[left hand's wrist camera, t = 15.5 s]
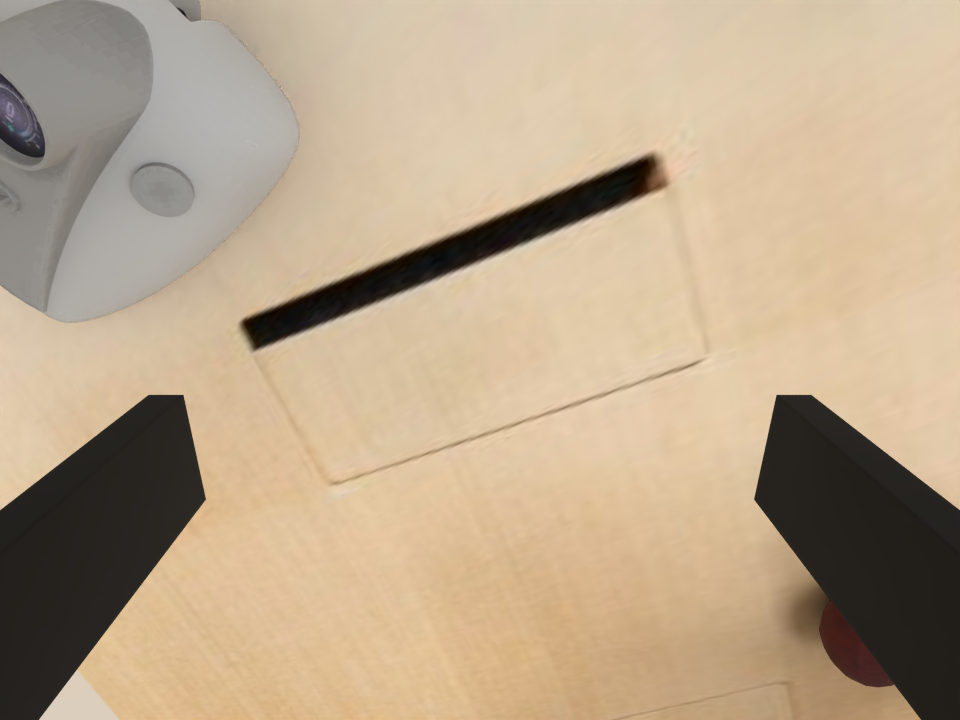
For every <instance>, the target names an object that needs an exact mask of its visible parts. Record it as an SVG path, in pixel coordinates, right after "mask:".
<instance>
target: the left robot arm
mask: <svg viewBox="0 0 960 720" xmlns="http://www.w3.org/2000/svg"><path fill="white" fill-rule="evenodd" d="M205 500H206V498H205V493H204V489H203V484H202V479H201V475H200V470H199V465H198V461H197V456H196V452H195V447H194V442H193V438H192V433H191V428H190V424H189V419H188V414H187V410H186V405H185V400H184V396H183V395H148V396H147V397H146V398H144V399H143V400H142V401H140V402H139V403H138V404H137V405H135V406H134V407H133V408H131V409H130V410H129V411H127V412H126V413H125V414H124V415H122V416H121V417H120V418H118V419H117V420H116V421H115V422H113V423H112V424H111V425H109V426H108V427H107V428H106V429H104V430H103V431H102V432H100V433H99V434H98V435H97V436H95V437H94V438H93V439H91V440H90V441H89V442H88V443H86V444H85V445H84V446H82V447H81V448H80V449H79V450H77V451H76V452H75V453H73V454H72V455H71V456H70V457H68V458H67V459H66V460H64V461H63V462H62V463H61V464H59V465H58V466H57V467H55V468H54V469H53V470H52V471H50V472H49V473H48V474H46V475H45V476H44V477H42V478H41V479H40V480H39V481H37V482H36V483H35V484H33V485H32V486H31V487H30V488H28V489H27V490H26V491H24V492H23V493H22V494H21V495H19V496H18V497H17V498H15V499H14V500H13V501H12V502H10V503H9V504H8V505H6V506H5V507H4V508H3V509H1V510H0V720H39V719H40V717H41V716H42V715H43V713H44V712H45V711H46V710H47V708H48V707H49V706H50V704H51V703H52V702H53V700H54V699H55V698H56V696H57V695H58V694H59V692H60V691H61V690H62V688H63V687H64V686H65V685H66V683H67V682H68V681H69V679H70V678H71V677H72V675H73V674H74V673H75V671H76V670H77V669H78V667H79V666H80V665H81V663H82V662H83V661H84V659H85V658H86V657H87V656H88V654H89V653H90V652H91V650H92V649H93V648H94V646H95V645H96V644H97V642H98V641H99V640H100V638H101V637H102V636H103V634H104V633H105V632H106V630H107V629H108V628H109V626H110V625H111V624H112V623H113V621H114V620H115V619H116V617H117V616H118V615H119V613H120V612H121V611H122V609H123V608H124V607H125V605H126V604H127V603H128V601H129V600H130V599H131V597H132V596H133V595H134V594H135V592H136V591H137V590H138V588H139V587H140V586H141V584H142V583H143V582H144V580H145V579H146V578H147V576H148V575H149V574H150V572H151V571H152V570H153V568H154V567H155V566H156V564H157V563H158V562H159V561H160V559H161V558H162V557H163V555H164V554H165V553H166V551H167V550H168V549H169V547H170V546H171V545H172V543H173V542H174V541H175V539H176V538H177V537H178V535H179V534H180V533H181V532H182V530H183V529H184V528H185V526H186V525H187V524H188V522H189V521H190V520H191V518H192V517H193V516H194V514H195V513H196V512H197V510H198V509H199V508H200V506H201V505H202V504H203V503H204V501H205ZM754 500H755V501H756V503H757V504H758V505H759V506H760V508H761V509H762V510H763V512H764V513H765V514H766V516H767V517H768V518H769V520H770V521H771V522H772V524H773V525H774V526H775V528H776V529H777V530H778V532H779V533H780V534H781V535H782V537H783V538H784V539H785V541H786V542H787V543H788V545H789V546H790V547H791V549H792V550H793V551H794V553H795V554H796V555H797V557H798V558H799V559H800V561H801V562H802V563H803V564H804V566H805V567H806V568H807V570H808V571H809V572H810V574H811V575H812V576H813V578H814V579H815V580H816V582H817V583H818V584H819V586H820V587H821V588H822V590H823V591H824V592H825V594H826V595H827V596H828V597H829V599H830V600H831V601H832V603H833V604H834V605H835V607H836V608H837V609H838V611H839V612H840V613H841V615H842V616H843V617H844V619H845V620H846V621H847V623H848V624H849V625H850V626H851V628H852V629H853V630H854V632H855V633H856V634H857V636H858V637H859V638H860V640H861V641H862V642H863V644H864V645H865V646H866V648H867V649H868V650H869V652H870V653H871V654H872V656H873V657H874V658H875V659H876V661H877V662H878V663H879V665H880V666H881V667H882V669H883V670H884V671H885V673H886V674H887V675H888V677H889V678H890V679H891V681H892V682H893V683H894V685H895V686H896V687H897V688H898V690H899V691H900V692H901V694H902V695H903V696H904V698H905V699H906V700H907V702H908V703H909V704H910V706H911V707H912V708H913V710H914V711H915V712H916V714H917V715H918V716H919V717H920V719H921V720H960V510H959V509H957V508H956V507H955V506H954V505H952V504H951V503H950V502H948V501H947V500H946V499H945V498H943V497H942V496H941V495H939V494H938V493H937V492H936V491H934V490H933V489H932V488H930V487H929V486H928V485H927V484H925V483H924V482H923V481H921V480H920V479H919V478H918V477H916V476H915V475H914V474H912V473H911V472H910V471H908V470H907V469H906V468H905V467H903V466H902V465H901V464H899V463H898V462H897V461H896V460H894V459H893V458H892V457H890V456H889V455H888V454H887V453H885V452H884V451H883V450H881V449H880V448H879V447H878V446H876V445H875V444H874V443H872V442H871V441H870V440H869V439H867V438H866V437H865V436H863V435H862V434H861V433H860V432H858V431H857V430H856V429H854V428H853V427H852V426H851V425H849V424H848V423H847V422H845V421H844V420H843V419H842V418H840V417H839V416H838V415H836V414H835V413H834V412H832V411H831V410H830V409H829V408H827V407H826V406H825V405H823V404H822V403H821V402H820V401H818V400H817V399H816V398H814V397H813V396H812V395H777V396H776V400H775V405H774V410H773V414H772V419H771V424H770V428H769V433H768V438H767V442H766V447H765V452H764V456H763V461H762V465H761V470H760V475H759V479H758V484H757V489H756V493H755V498H754Z"/></svg>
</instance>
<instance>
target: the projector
mask: <svg viewBox="0 0 960 720" xmlns="http://www.w3.org/2000/svg"><path fill="white" fill-rule="evenodd" d="M200 18H201V6H200V2H199V0H0V285H1V286H2V287H3V288H5V289H6V290H7V291H9V292H10V293H11V294H13V295H14V296H16V297H17V298H19V299H20V300H22V301H24V302H25V303H27V304H28V305H30V306H32V307H34V308H36V309H37V310H39V311H40V312H42V313H44V314H45V315H47V316H49V317H51V318H53V319H55V320H58V321H61V322H65V323H76V322H82V321H87V320H91V319H95V318H99V317H102V316H105V315H108V314H111V313H113V312H116V311H118V310H121V309H123V308H126V307H128V306H130V305H132V304H134V303H137V302H139V301H140V300H142V299H144V298H146V297H148V296H150V295H152V294H154V293H156V292H157V291H159V290H161V289H162V288H164V287H166V286H167V285H169V284H170V283H172V282H173V281H175V280H176V279H178V278H179V277H181V276H182V275H184V274H185V273H187V272H188V271H189V270H190V269H192V268H193V267H194V266H196V265H197V264H198V263H200V262H201V261H202V260H203V259H204V258H206V257H207V256H208V255H209V254H210V253H211V252H212V251H214V250H215V249H216V248H217V247H218V246H219V245H220V244H222V243H223V242H224V241H225V240H226V239H227V238H228V237H229V236H230V235H231V234H232V233H233V232H234V231H235V230H236V229H237V228H238V227H239V226H240V225H241V224H242V223H243V222H244V221H245V220H246V218H247V217H248V216H249V215H250V214H251V213H252V212H253V211H254V210H255V209H256V208H257V206H258V205H259V204H260V203H261V202H262V201H263V199H264V198H265V197H266V196H267V195H268V194H269V192H270V191H271V190H272V188H273V187H274V186H275V185H276V183H277V182H278V181H279V179H280V178H281V176H282V175H283V174H284V172H285V171H286V169H287V168H288V166H289V164H290V162H291V161H292V159H293V157H294V155H295V152H296V150H297V147H298V142H299V126H298V122H297V118H296V115H295V112H294V110H293V107H292V105H291V103H290V101H289V100H288V98H287V97H286V95H285V94H284V92H283V91H282V89H281V88H280V86H279V85H278V84H277V82H276V81H275V80H274V78H273V77H272V76H271V75H270V73H269V72H268V71H267V70H266V68H265V67H264V66H263V65H262V64H261V63H260V62H259V60H258V59H257V58H256V57H255V56H254V55H253V54H252V53H251V52H250V51H249V49H248V48H247V47H246V46H245V45H244V44H243V43H242V42H241V41H240V40H239V39H238V38H237V37H236V36H235V35H234V34H233V33H232V32H231V31H230V30H229V29H228V28H227V27H226V26H225V25H224V24H222V23H221V22H218V21H214V20H200Z"/></svg>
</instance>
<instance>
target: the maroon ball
mask: <svg viewBox="0 0 960 720" xmlns="http://www.w3.org/2000/svg"><path fill="white" fill-rule="evenodd" d="M819 631H820V635H821V639H822V642H823V646H824V648H825V650H826V652H827V654H828V656H829V657H830V659H831V660H832V662H833V663H834V664H835V665H836V666H837V667H838V668H839V669H840V670H841V671H842V672H843V673H844V674H845V675H846V676H847V677H849V678H851V679H852V680H854V681H857V682H859V683H861V684H863V685H865V686H873V687H884V686H892V685H894V683H893V682H892V681H891V679H890V678H889V677H888V675H887V674H886V673H885V671H884V670H883V669H882V667H881V666H880V665H879V663H878V662H877V661H876V659H875V658H874V657H873V656H872V654H871V653H870V652H869V650H868V649H867V648H866V646H865V645H864V644H863V642H862V641H861V640H860V638H859V637H858V636H857V634H856V633H855V632H854V630H853V629H852V628H851V626H850V625H849V624H848V623H847V621H846V620H845V619H844V617H843V616H842V615H841V613H840V612H839V611H838V609H837V608H836V607H835V605H834V604H833V603H832V601H830V602H829V603H828V605H827V606H826V608H825V609H824V611H823V615H822V618H821V622H820V627H819Z"/></svg>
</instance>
